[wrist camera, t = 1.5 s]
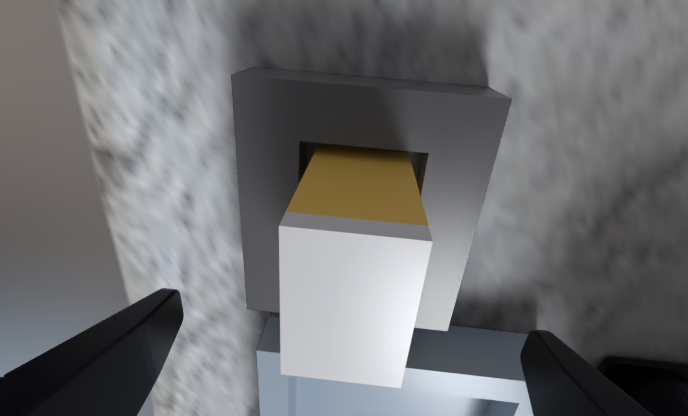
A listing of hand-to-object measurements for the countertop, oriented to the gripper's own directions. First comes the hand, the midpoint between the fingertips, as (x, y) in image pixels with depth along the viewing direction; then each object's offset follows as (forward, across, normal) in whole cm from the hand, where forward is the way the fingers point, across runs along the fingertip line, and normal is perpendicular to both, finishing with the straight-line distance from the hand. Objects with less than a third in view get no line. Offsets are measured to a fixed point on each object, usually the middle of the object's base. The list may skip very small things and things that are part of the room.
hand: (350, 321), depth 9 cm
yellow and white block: (+7, 0, 0) cm, 7 cm away
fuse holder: (+8, 0, 0) cm, 8 cm away
